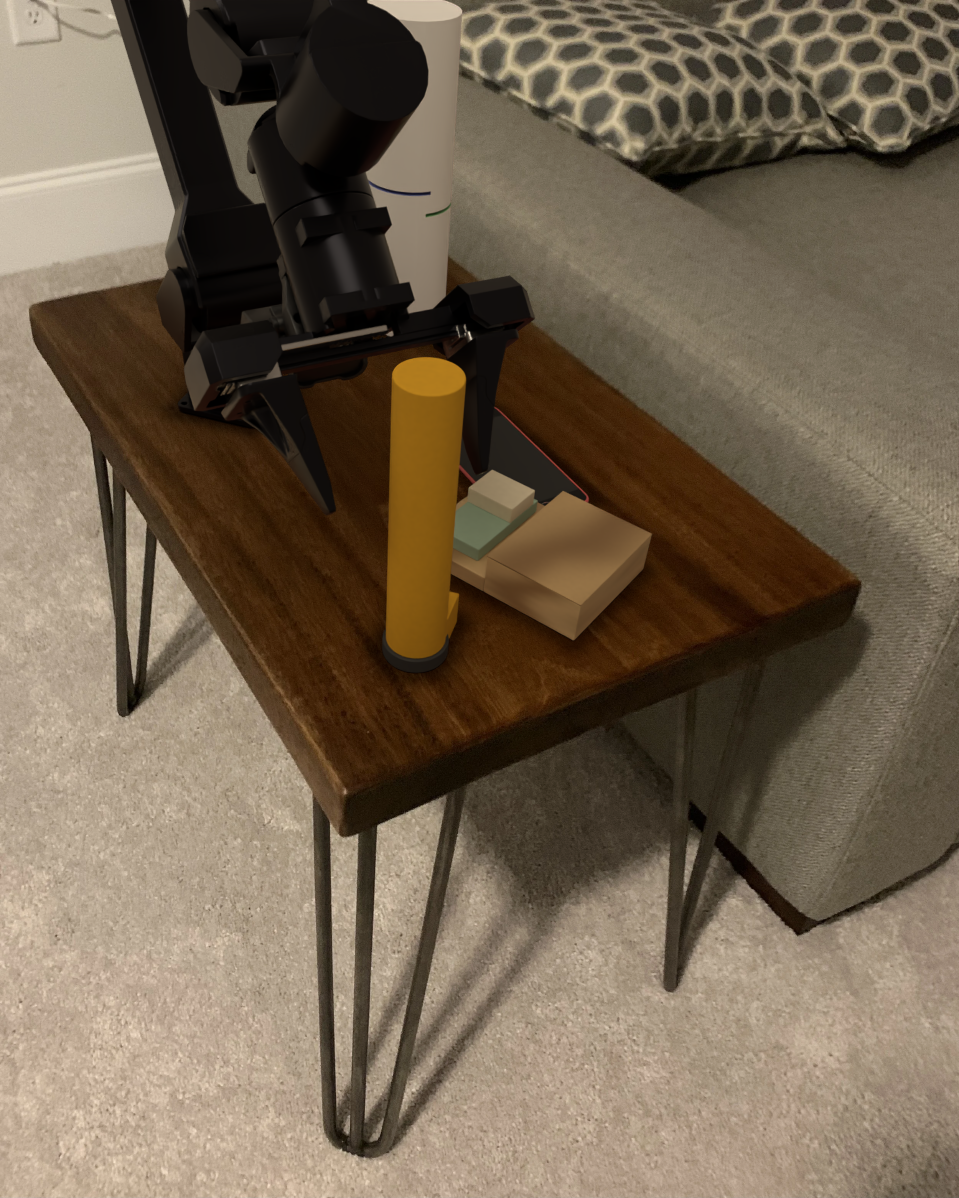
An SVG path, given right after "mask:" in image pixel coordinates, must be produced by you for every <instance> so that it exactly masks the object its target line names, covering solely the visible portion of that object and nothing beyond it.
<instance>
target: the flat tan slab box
mask: <svg viewBox="0 0 959 1198" xmlns="http://www.w3.org/2000/svg"><path fill="white" fill-rule="evenodd" d="M467 502H468V495H467V496H465V497H464V498H463V499H461V500H460V501H458V502H457V503H456V510H458V509H459V508H460V507H462V506H463V505H464V504H465V503H467ZM652 536H653V533H652V532H649V531H648V530H645V529H643V528H641V527H639V526H637V525H635V524H633V523H630V522H629V521H627V520H624V519H622V518H621V517H619V516H616V515H614V514H612V513H610V512H608V511H606V510H604V509H602V508H599V507H597V506H595V505H594V504H591V503H589V502H588V503H587V502H585V501H583V500H581V499H579V498H577V497H575V496H573V495H570V494H568V493H566V492H564V491H562V492H561V493H560V494H559V495H558V496H557V497H555V498H554V499H553V500H552V501H551V502H550V503H548V504H547V505H546V506H544V505H542V504H540V503H538V502H537V509H536V512H535V513H534V514H533V515H531V516H530V517H529V518H528V519H527V520H526V521H524V522H523V523H522V524H521V525H520V526H518V527H517V528H516V529H515V530H514V531H513V532H511V533H510V534H509V535H508V536H507V537H505V538H504V539H503V540H502V541H501V542H500V543H498V544H497V545H496V546H495V547H494V548H492V549H491V550H490V551H489V552H488V553H487V554H485V555H484V556H483V557H482V558H481V559H479V560H478V561H477V560H475V559H473V558H471V557H469V556H467V555H465V554H463V553H462V552H460V551H458V550H456V549H454V548H453V552H452V565H451V576H454V577H456V578H458V579H460V580H461V581H463V582H465V583H467V584H469V585H470V586H473V587H474V588H476V589H477V590H480V591H481V592H483V593H485V594H487V595H489V596H491V597H493V598H495V599H496V600H498V601H500V602H501V603H504V604H506V606H509V607H510V608H512V609H515V610H517V611H518V612H520V613H522V614H524V615H526V616H527V617H529V618H530V619H533V620H535V621H537V622H538V623H540V624H542V625H544V626H545V627H547V628H549V629H551V630H553V631H555V632H557V633H559V634H561V635H562V636H564V637H566V638H567V639H570V640H572V641H575V640H576V639H577V638H578V637H579V636H580V635H581V634H582V633H584V631H585V630H586V629H587V628H588V627H589V626H590V625H591V623H593V621H594V620H596V619H597V618H598V616H599V615H600V614H601V613H602V612H603V611H604V610H605V609H606V608H607V607H608V606H609V605H610V604H611V603H612V602H613V601H614V600H615V599H616V598H617V597H618V596H619V595H620V594H621V593H622V592H623V591H624V589H626V588H627V586H629V584H630V583H631V582H633V580H634V579H635V578H636V577H638V575H639V574H640V573H641V572H642V571H643V570H644V568H645V563H646V559H647V555H648V551H649V548H650V543H651V540H652Z"/></svg>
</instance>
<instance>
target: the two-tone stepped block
mask: <svg viewBox="0 0 959 1198" xmlns="http://www.w3.org/2000/svg"><path fill="white" fill-rule="evenodd" d="M467 490H468V492H467V496H468V502H467V503H465V504H464V505H463V506H462V507H460V508H459V509H458V510H456V515H455V527H454V540H453V548H454V549H456V550H458V551H460V552H462V553H463V554H465V555H467V556H469V557H471V558H473V559H475V560H477V561H478V560H479V559H481V558H482V557H483V556H484V555H485V554H487V553H488V552H489V551H490V550H491V549H492V548H494V547H495V546H496V545H497V544H498V543H500V542H501V541H502V540H503V539H504V538H505V537H507V536H508V535H509V534H510V533H511V532H513V531H514V530H515V529H516V528H517V527H518V526H520V525H521V524H522V523H523V522H524V521H526V520H527V519H528V518H529V517H530V516H531V515H533V514H534V513H535V512H536V509H537V502H538V501H537V500H536V499H534V494H535V490H533V489H531V488H529V487H527V486H525V485H523V484H521V483H519V482H516V481H514V480H512V479H510V478H508V477H506V476H504V475H502V474H500V473H498V472H496V471H494V470H491V471H490V472H489V473H487V474H486V475H485V476H483V477H482V478H481V479H479V480H478V481H477V482H475V483H474V484H473V483H472V484H471V485H470V486H469V487H468V489H467Z"/></svg>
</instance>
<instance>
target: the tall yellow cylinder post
mask: <svg viewBox="0 0 959 1198" xmlns="http://www.w3.org/2000/svg"><path fill="white" fill-rule="evenodd" d="M446 360H447V359H443V358H439V357H431V356H430V357H429V356H424V357H423V356H421V357H420V356H419V357H414V358H410V359H406V360H403V361H401V362H400V363H398V364H397V365H396V366H395V367H394V369H393V371H392V372H391V398H390V399H391V402H390V403H391V404H390V405H391V406H390V442H389V443H390V445H389V447H390V448H389V480H388V481H389V484H388V485H389V486H388V487H389V488H388V529H387V530H388V531H387V534H388V535H387V570H386V571H387V573H386V608H385V609H386V611H385V612H386V615H385V617H386V618H385V629H384V630H383V632H382V638H381V639H382V642H381V643H382V645H381V649H382V655H383V656H384V658H385V660H386V661H387V663H388V664H389V665H391V666H392V667H394V668H395V669H397V670H399V671H403V672H406V673H413V674H415V673H416V674H418V673H426V672H429V671H430V672H431V671H432V670H434V669H436V668H438V667H439V666H441V665H442V664H443V663H444V661H445V660H446V659H447V656H448V653H449V645H450V638H451V636H452V634H453V631H454V630H455V629H454V628H455V627H456V624H457V623H458V611H459V603H460V602H459V601H460V600H459V599H460V594H459V593H458V592H454V591H451V590H450V588H451V576H452V574H451V565H452V552H453V540H454V527H455V515H456V504H457V503H458V502H457V500H458V499H457V498H458V489H459V488H458V487H459V475H460V469H459V464H460V451H461V439H462V426H463V413H464V401H465V388H466V376H465V373H464V372H463V370H462V369H461V368H460V367H458V366H457V365H455V364H454V363H452V362H449V361H446Z"/></svg>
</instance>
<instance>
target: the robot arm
mask: <svg viewBox="0 0 959 1198" xmlns="http://www.w3.org/2000/svg"><path fill="white" fill-rule="evenodd" d="M188 1H189V2H188V3H189V7H188V9H189V10H188V11H189V14H188V12H187V9H186V6H185V2H184V0H110V3H111V6H112V10H113V13H114V17H115V19H116V22H117V26H118V29H119V33H120V35H121V38H122V43H123V45H124V48H125V52H126V55H127V58H128V61H129V64H130V65H129V66H130V68H131V71H132V74H133V78H134V81H135V85H136V88H137V90H138V94H139V98H140V101H141V104H142V107H143V111H144V113H145V116H146V120H147V123H148V127H149V129H150V133H151V136H152V140H153V143H154V146H155V149H156V153H157V156H158V160H159V163H160V166H161V169H162V172H163V175H164V179H165V182H166V185H167V188H168V193H169V195H170V198H171V201H172V205H173V209H174V214H173V218H172V222H171V226H170V230H169V234H168V237H167V238H168V239H167V243H166V246H165V250H164V257H165V258H164V259H165V261H166V266H167V270H166V273H165V275H164V277H163V279H162V281H161V284H160V286H159V288H158V290H157V293H156V295H155V300H156V304H157V310H158V312H159V313H158V314H159V317H160V321H161V325H162V327H163V328H164V330H165V331H166V332H167V333H168V335H169V336H170V337H171V339H172V340H173V341H174V342H175V344H176V345H177V346H178V348H179V349H180V351H181V354H182V361H183V371H184V380H185V384H186V385H185V386H186V391H187V392H186V393H185V395H183V397H182V398H181V399H180V400H179V401H178V402H177V409H178V410H179V411H180V412H184V413H188V414H192V415H197V416H200V417H204V418H209V419H214V420H217V421H222V422H227V423H231V424H235V425H240V426H244V427H247V428H254V429H255V430H257V432H259V433H260V434H262V436H263V437H264V438H265V439H266V440H267V441H268V442H269V443H270V444H271V446H273V448H274V449H275V450H276V451H277V452H278V453H279V454H280V456H281V457H282V458H283V459H284V461H285V462H286V464H287V465H288V466H289V468H290V469H291V471H292V472H293V473H294V474H295V476H296V477H297V479H298V480H299V482H300V483H301V484H302V485H303V487H304V488H305V490H306V491H307V492H308V494H309V495H310V497H311V499H313V501H314V502H315V504H316V505H317V506H318V508H319V509H320V511H321V513H323V514H324V515H325V516H331V515H333V514H335V513H336V512H337V505H336V500H335V494H334V491H333V486H332V485H333V484H332V481H331V477H330V475H329V472H328V469H327V465H326V462H325V460H324V456H323V453H322V451H321V448H320V445H319V441H318V439H317V435H316V432H315V430H314V427H313V423H312V420H311V417H310V414H309V411H308V408H307V405H306V401H305V399H304V395H303V393H302V392H303V391H302V390H307V389H312V388H313V387H314V386H315V385H317V384H322V383H326V382H332V381H337V380H341V381H349V380H353V379H356V378H357V377H359V376H360V375H363V374H364V372H365V371H366V370H367V367H368V364H369V361H368V358H372V357H376V356H381V355H386V354H391V353H395V352H400V351H405V350H410V349H411V350H412V349H415V348H416V349H417V348H420V347H426V346H430V345H432V347H433V350H435V351H437V352H438V353H440V354H441V355H443V356H444V357H445V360H446V361H449V362H452V363H454V364H455V365H457V366H458V367H460V368H461V369H462V370H463V372H464V373H465V376H466V388H465V401H464V413H463V426H462V438H463V442H464V445H465V449H466V453H467V455H468V458H469V460H470V463H471V466H472V468H473V471H474V473H475V474H476V475H480V474H483V473H485V472H487V470H488V466H489V456H490V446H491V437H492V427H493V417H494V407H495V406H496V399H497V392H498V391H497V390H498V386H499V381H500V377H501V371H502V367H503V362H504V358H505V352H506V349H508V348H509V347H510V346H511V345H513V344H514V343H515V342H517V341H518V340H519V338H520V334H519V332H520V331H521V330H522V329H524V328H525V327H526V326H528V325H530V323H532V322H533V321H535V320H536V315H535V313H534V310H533V306H532V303H531V301H530V296H529V294H528V290H527V289H526V288H525V287H524V286H523V285H522V284H521V283H520V282H518V281H517V280H516V279H515V278H514V277H512V276H511V275H504V276H500V277H493V278H487V279H482V280H477V281H471V282H465V283H460V284H456V285H455V287H453V288H452V290H450V291H449V292H448V293H447V294H446V296H445V297H444V298H443V299H442V300H441V301H440V302H439V303H438V304H437V305H436V306H435V307H434V308H433V309H429V310H423V311H418V312H413V313H408V309H407V308H408V307H409V306H410V305H411V304H412V303H413V302H414V301H415V299H414V295H413V292H412V289H411V285H410V282H405V283H399V280H398V276H397V273H396V270H395V266H394V263H393V260H392V257H391V253H390V250H389V247H388V243H387V240H386V237H385V233H386V232H387V231H388V230H389V228H390V227H391V226H392V223H391V219H390V216H389V213H388V209H387V206H386V207H379V208H377V207H376V204H375V201H374V198H373V194H372V191H371V188H370V184H369V181H368V178H367V175H366V172H367V171H369V170H370V169H371V168H373V167H374V166H375V165H376V164H377V163H378V162H379V161H380V159H381V158H382V156H383V155H384V154H385V152H386V151H387V149H388V148H389V147H390V145H391V144H392V142H393V141H394V140H395V138H396V137H397V135H398V134H399V133H400V131H401V130H402V128H403V127H404V126H405V124H406V123H407V121H408V120H409V119H410V117H411V116H412V114H413V113H414V112H415V110H416V109H417V107H418V106H419V104H420V103H421V101H422V100H423V98H424V96H425V93H426V90H427V86H428V74H429V70H428V65H427V60H426V55H425V53H424V50H423V48H422V45H421V44H420V42H418V41H416V40H415V39H414V37H413V36H412V34H411V33H410V31H409V30H408V29H407V28H406V27H405V26H404V25H403V24H402V23H401V22H400V21H399V20H398V19H397V18H396V17H394V16H393V15H391V14H390V13H389V12H387V11H386V10H384V9H381V8H379V7H377V6H375V5H373V4H370V3H368V2H367V1H368V0H188ZM212 96H213V97H212ZM213 98H214V99H215V100H216V101H217V102H218V103H219V104H220V105H222V106H224V107H235V106H245V105H252V104H253V105H254V104H255V105H256V104H264V103H272V102H273V103H274V102H275V104H274V105H273V106H271V107H269V108H268V109H267V110H265V111H264V112H263V113H262V114H261V115H260V116H259V118H258V119H257V120H256V122H255V124H254V126H253V129H252V131H251V132H250V134H249V137H248V139H247V142H246V143H247V153H246V168H247V171H248V173H249V174H251V175H256V178H257V181H258V185H259V189H260V191H261V194H262V197H263V201H264V202H258V203H255V202H254V201H253V200H251V198H250V197H249V196H248V195H246V194H245V192H243V190H242V189H240V187H239V185H238V181H237V178H236V175H235V171H234V168H233V164H232V161H231V157H230V154H229V151H228V147H227V144H226V141H225V137H224V134H223V130H222V128H221V124H220V120H219V117H218V114H217V111H216V107H215V103H214V100H213ZM391 331H393V336H388V335H386V334H388V333H389V332H391ZM384 336H385V337H384ZM377 337H380V338H377Z"/></svg>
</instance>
